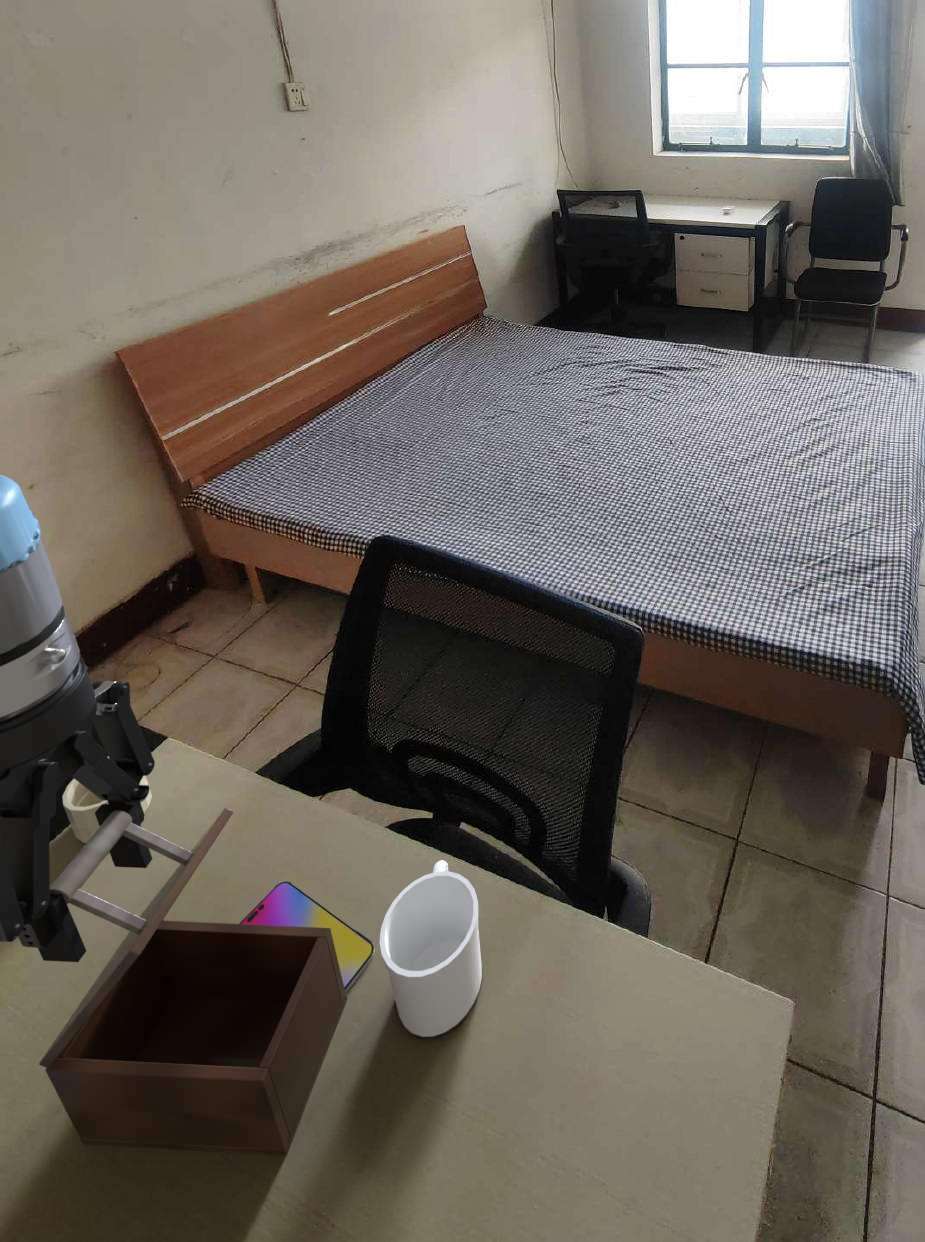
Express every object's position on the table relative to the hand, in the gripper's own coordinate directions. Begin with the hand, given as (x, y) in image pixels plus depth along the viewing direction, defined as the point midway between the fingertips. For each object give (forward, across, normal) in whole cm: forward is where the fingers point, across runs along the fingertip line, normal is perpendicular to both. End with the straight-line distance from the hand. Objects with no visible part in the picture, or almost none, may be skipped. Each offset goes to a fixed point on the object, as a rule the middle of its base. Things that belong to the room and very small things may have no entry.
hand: (101, 906), depth 55 cm
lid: (+3, 0, -3) cm, 4 cm away
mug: (+22, +8, -23) cm, 33 cm away
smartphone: (+22, +9, -8) cm, 25 cm away
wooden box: (+22, 0, -6) cm, 22 cm away
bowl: (+22, +22, +23) cm, 39 cm away
